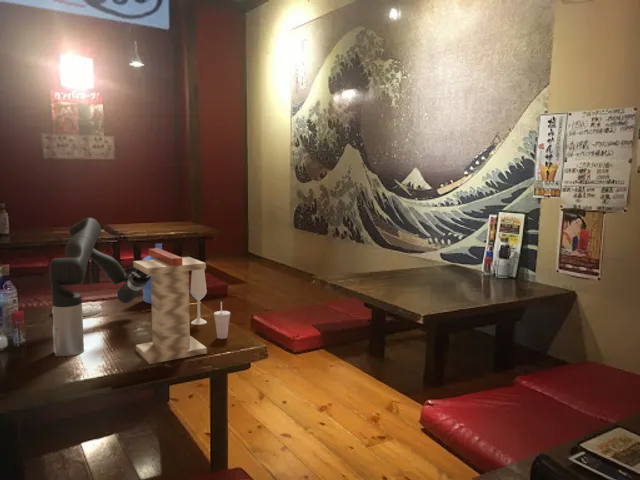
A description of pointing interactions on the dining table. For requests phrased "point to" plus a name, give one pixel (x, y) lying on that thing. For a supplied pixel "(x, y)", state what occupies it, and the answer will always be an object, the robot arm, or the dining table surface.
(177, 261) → the lacquered bar
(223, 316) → the smoothie
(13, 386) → the dining table surface
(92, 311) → the embossed medallion
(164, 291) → the beech pedestal
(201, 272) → the champagne flute
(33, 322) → the dining table surface
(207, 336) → the dining table surface
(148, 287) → the water jug
